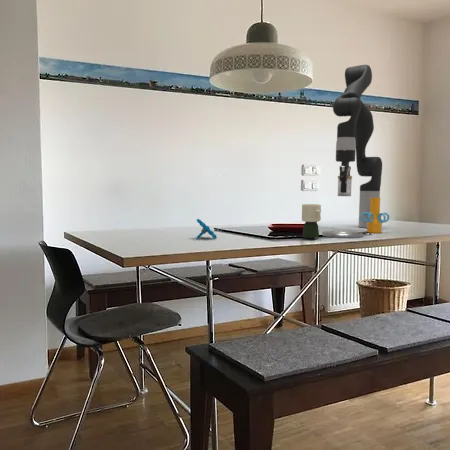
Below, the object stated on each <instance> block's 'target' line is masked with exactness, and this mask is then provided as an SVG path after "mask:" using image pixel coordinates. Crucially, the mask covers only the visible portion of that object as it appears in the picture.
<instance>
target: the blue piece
mask: <svg viewBox="0 0 450 450" xmlns="http://www.w3.org/2000/svg"><path fill="white" fill-rule="evenodd" d="M196 222H197V223H198V224H199V226H201V227H202V228H201V231H200V233H198V235H197V236H196V238H197V239H200V238H201V237H202V236H203V235H205V234H206V233H207V234H209V236H211V237H212V238H214V239H217V234H215V232H214V230H211V229H210V228H211V227H210V226H208V225H207V224H206V223H205V222H203V221H202V219H200V218H197V219H196Z"/></svg>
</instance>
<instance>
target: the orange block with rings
mask: <svg viewBox="0 0 450 450" xmlns="http://www.w3.org/2000/svg"><path fill="white" fill-rule="evenodd" d="M364 214H365V220H363V219H362V215H364ZM366 215H368V219H367V218H366ZM382 216H383V219H382ZM360 219H361V221H363V222H367V228H366V232H367V233H371V234H382V228H383V227H382V224H383V223H387V222H388V221H389V220H390V214H389V213H388V212H381V197H380V198H378V197H371V198H370V212H364V213H362V214H361V215H360Z"/></svg>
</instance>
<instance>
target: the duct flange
mask: <svg viewBox="0 0 450 450" xmlns="http://www.w3.org/2000/svg"><path fill="white" fill-rule="evenodd" d="M321 235H322V236H323V237H325V238H336V239H361V238H363V237H364V233H363V232H361V231H360V232H359V231H353V230H352V231H351V230H327V231H326V230H324V231H322V232H321Z"/></svg>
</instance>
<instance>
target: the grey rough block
mask: <svg viewBox="0 0 450 450" xmlns="http://www.w3.org/2000/svg"><path fill="white" fill-rule="evenodd" d="M342 178H345V177H342ZM352 180H353V176H352V175H350V176H349V177H348V178H347V192H346V193H341V183H340V175H338V176H337V197H351V196H352Z"/></svg>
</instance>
